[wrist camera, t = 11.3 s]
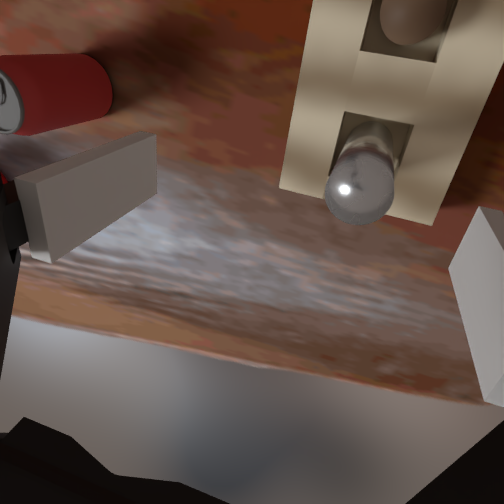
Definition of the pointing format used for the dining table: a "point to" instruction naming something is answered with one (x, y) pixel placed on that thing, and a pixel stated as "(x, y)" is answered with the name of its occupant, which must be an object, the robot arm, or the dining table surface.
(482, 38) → the socket block
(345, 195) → the steel pin
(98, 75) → the beer can
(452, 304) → the dining table surface
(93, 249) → the dining table surface
